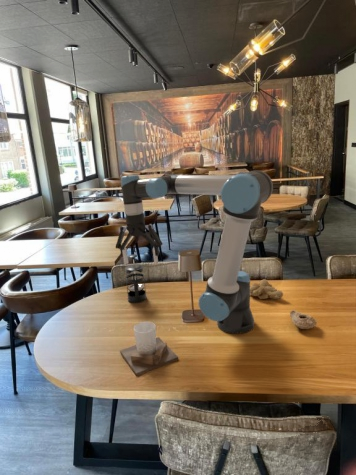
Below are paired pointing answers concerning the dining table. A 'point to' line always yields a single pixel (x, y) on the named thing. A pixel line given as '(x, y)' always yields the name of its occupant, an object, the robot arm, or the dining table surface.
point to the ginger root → (265, 290)
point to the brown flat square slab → (148, 357)
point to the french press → (135, 283)
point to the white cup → (145, 337)
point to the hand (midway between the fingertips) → (141, 263)
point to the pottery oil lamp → (302, 320)
